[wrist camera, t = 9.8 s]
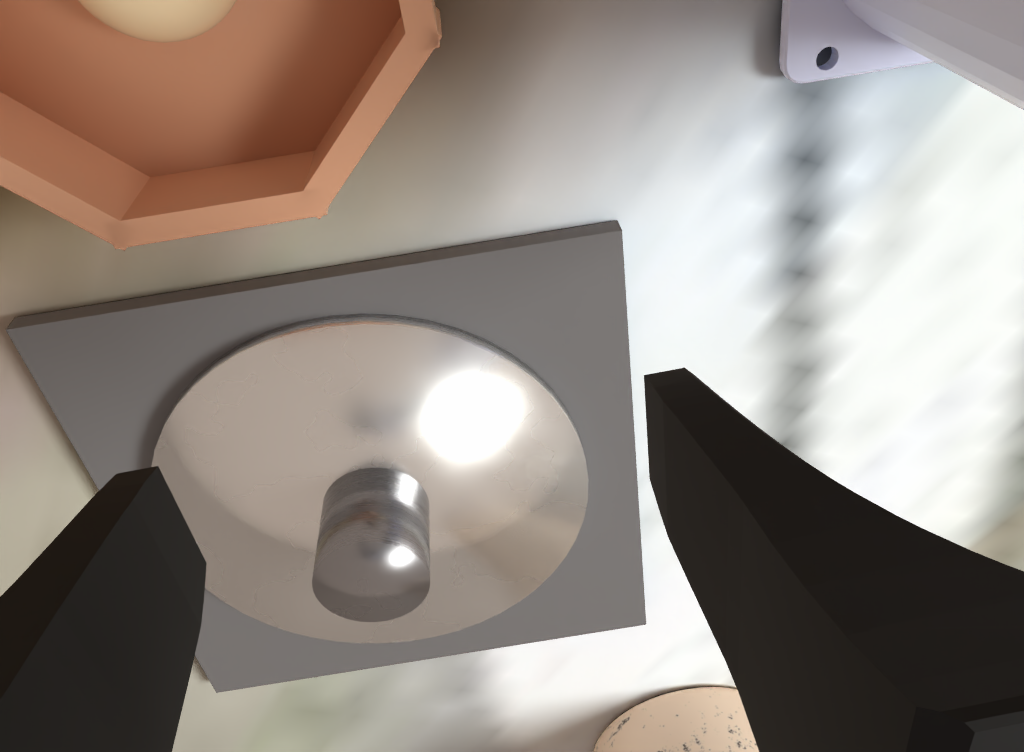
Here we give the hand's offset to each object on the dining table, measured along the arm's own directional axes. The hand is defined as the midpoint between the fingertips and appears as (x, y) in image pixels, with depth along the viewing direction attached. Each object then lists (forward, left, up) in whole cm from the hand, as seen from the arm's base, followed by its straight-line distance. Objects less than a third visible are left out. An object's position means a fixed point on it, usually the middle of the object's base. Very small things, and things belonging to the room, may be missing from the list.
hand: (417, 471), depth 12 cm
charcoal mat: (+3, +10, -10) cm, 14 cm away
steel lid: (+3, +9, -10) cm, 14 cm away
